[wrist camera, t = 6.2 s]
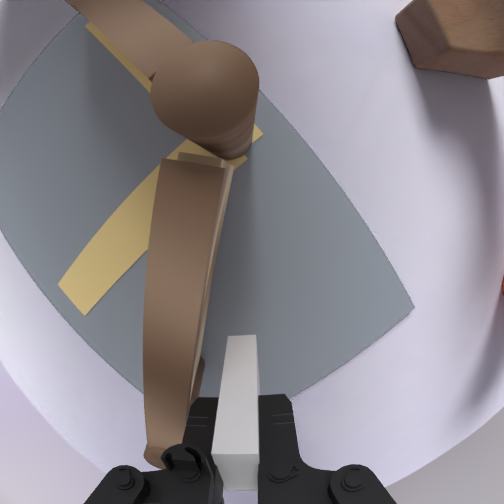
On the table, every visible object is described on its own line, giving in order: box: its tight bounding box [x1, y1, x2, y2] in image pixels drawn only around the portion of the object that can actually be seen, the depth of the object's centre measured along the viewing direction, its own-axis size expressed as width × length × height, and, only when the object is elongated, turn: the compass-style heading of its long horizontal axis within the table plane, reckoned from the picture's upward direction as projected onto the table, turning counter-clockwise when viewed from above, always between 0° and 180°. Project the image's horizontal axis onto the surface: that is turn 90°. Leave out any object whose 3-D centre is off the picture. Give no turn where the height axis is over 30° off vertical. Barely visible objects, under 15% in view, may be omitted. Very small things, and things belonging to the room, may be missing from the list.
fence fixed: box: [65, 0, 259, 160], centre depth 8 cm, size 16×2×9 cm, turn 41°
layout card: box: [0, 0, 415, 399], centre depth 15 cm, size 32×20×1 cm, turn 41°
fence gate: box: [143, 152, 234, 469], centre depth 12 cm, size 14×2×8 cm, turn 169°
